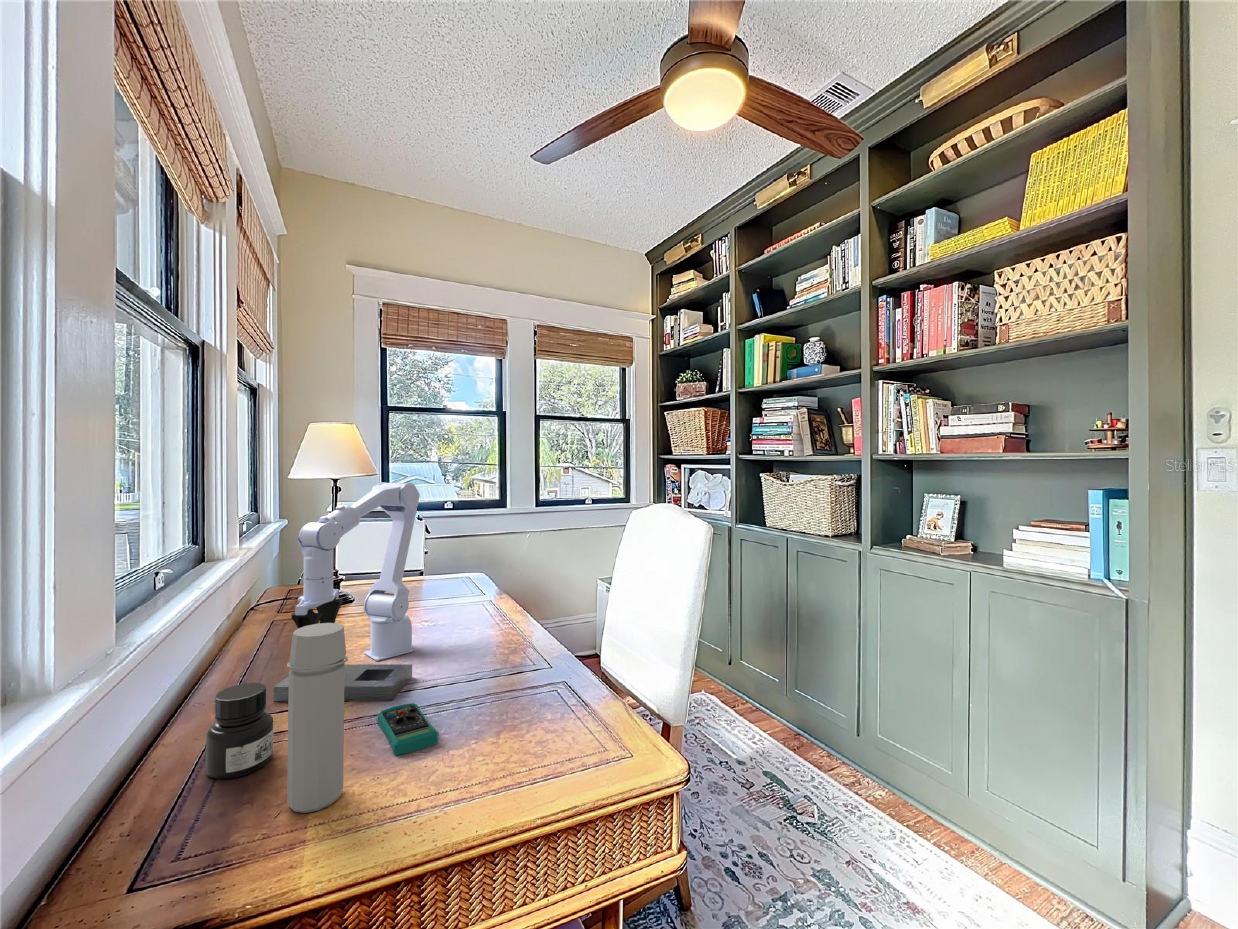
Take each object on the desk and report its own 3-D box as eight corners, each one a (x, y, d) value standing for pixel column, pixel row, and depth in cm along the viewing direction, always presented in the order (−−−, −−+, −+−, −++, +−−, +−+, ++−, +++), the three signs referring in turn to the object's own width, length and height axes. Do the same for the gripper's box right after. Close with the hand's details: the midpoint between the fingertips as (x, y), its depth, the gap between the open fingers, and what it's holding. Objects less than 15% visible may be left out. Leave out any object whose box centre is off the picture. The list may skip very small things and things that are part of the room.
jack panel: (412, 677, 122) (412, 664, 122) (391, 700, 110) (392, 686, 110) (305, 677, 121) (305, 664, 121) (273, 701, 109) (273, 686, 109)
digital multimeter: (415, 714, 106) (416, 699, 106) (438, 746, 94) (439, 730, 94) (376, 724, 101) (376, 709, 101) (394, 760, 89) (394, 742, 89)
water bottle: (332, 815, 75) (334, 637, 74) (273, 818, 74) (275, 638, 74) (359, 777, 84) (360, 618, 84) (307, 778, 83) (308, 618, 83)
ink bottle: (237, 785, 81) (238, 707, 81) (188, 779, 83) (189, 702, 83) (287, 751, 91) (288, 681, 91) (242, 746, 92) (243, 677, 92)
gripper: (317, 570, 124) (316, 628, 124) (280, 584, 110) (280, 650, 110) (348, 570, 124) (347, 628, 125) (315, 584, 110) (315, 650, 110)
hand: (318, 638), depth 117 cm, fingers open, 7 cm apart
